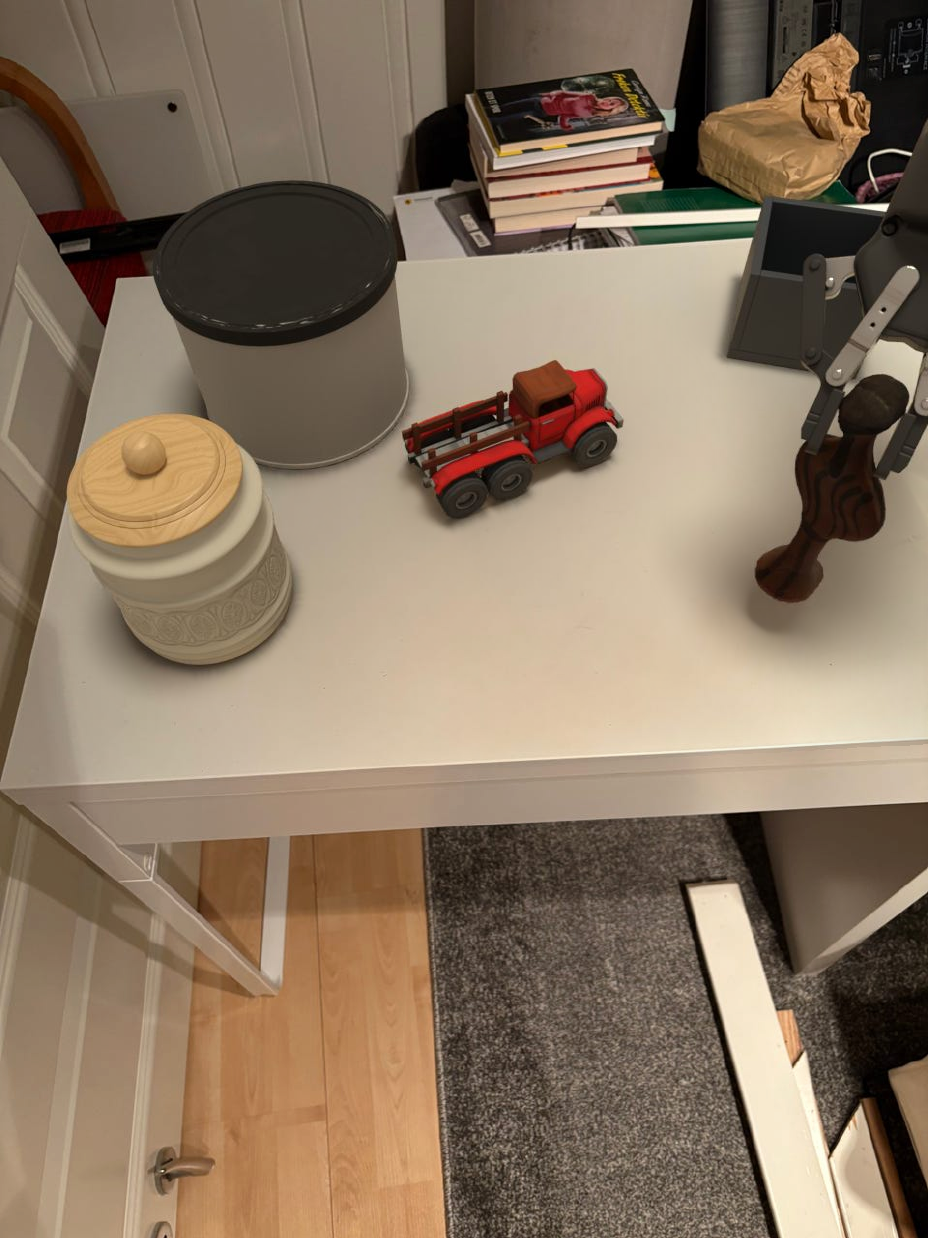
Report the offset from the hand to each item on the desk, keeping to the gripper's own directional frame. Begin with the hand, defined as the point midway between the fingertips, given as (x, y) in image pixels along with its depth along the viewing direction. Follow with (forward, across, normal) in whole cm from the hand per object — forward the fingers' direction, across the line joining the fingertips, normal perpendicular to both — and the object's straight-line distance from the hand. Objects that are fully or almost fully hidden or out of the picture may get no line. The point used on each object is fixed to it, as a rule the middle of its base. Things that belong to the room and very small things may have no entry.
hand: (845, 464), depth 51 cm
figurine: (+9, 0, +12) cm, 14 cm away
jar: (+26, -38, 0) cm, 46 cm away
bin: (-11, -9, +37) cm, 39 cm away
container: (+10, -45, +16) cm, 49 cm away
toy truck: (+9, -25, +17) cm, 31 cm away
